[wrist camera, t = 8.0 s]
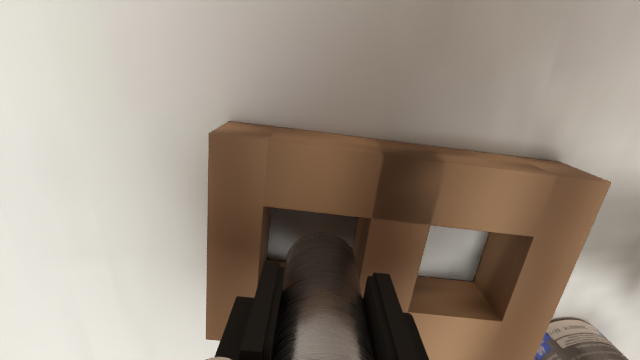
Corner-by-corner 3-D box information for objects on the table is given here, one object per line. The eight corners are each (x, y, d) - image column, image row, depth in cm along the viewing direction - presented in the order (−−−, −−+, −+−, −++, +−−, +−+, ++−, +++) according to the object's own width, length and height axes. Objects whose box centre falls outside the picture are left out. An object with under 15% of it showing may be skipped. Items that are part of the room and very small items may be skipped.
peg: (360, 236, 14) (448, 590, 5) (349, 295, 15) (403, 687, 6) (289, 229, 14) (229, 576, 4) (283, 288, 15) (222, 677, 5)
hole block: (559, 161, 16) (611, 182, 13) (498, 325, 19) (529, 370, 16) (229, 120, 15) (208, 133, 13) (223, 297, 19) (205, 339, 16)
